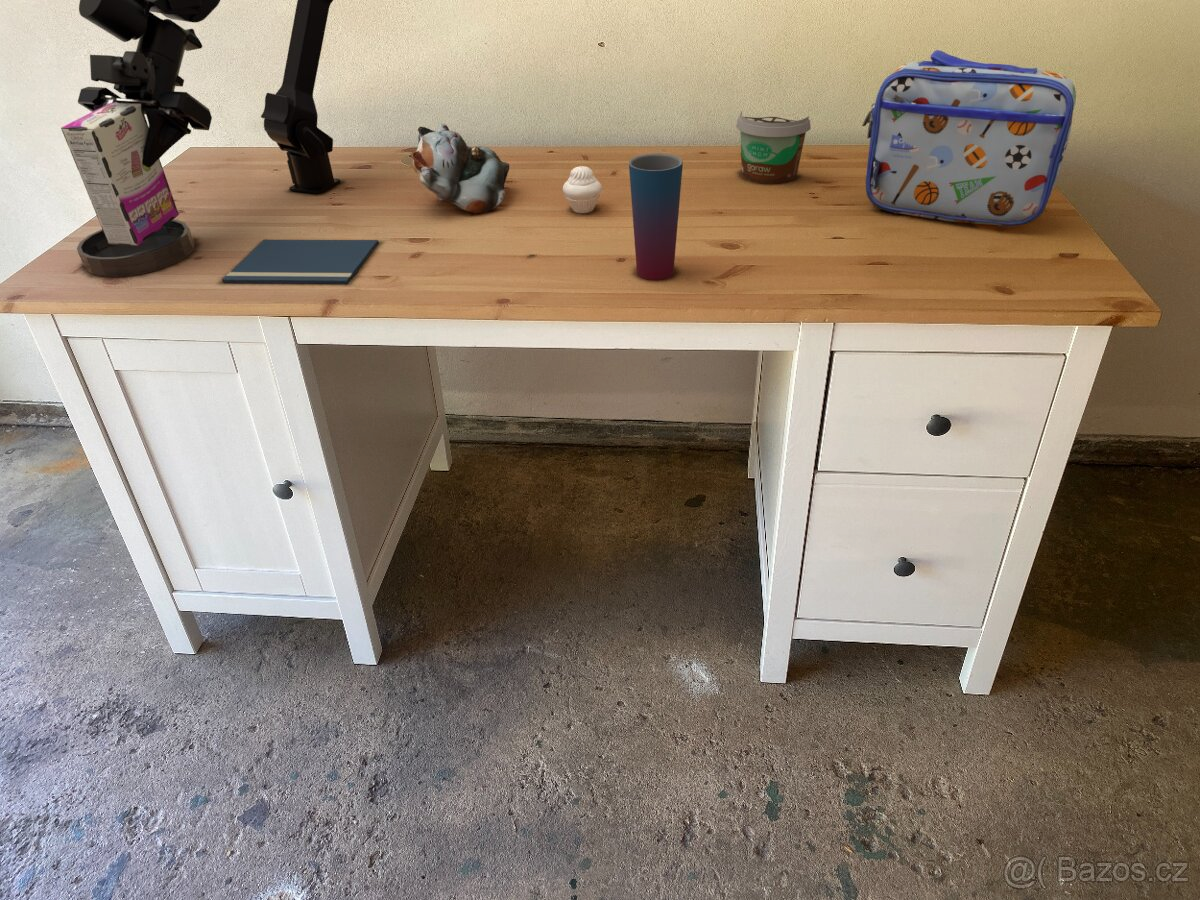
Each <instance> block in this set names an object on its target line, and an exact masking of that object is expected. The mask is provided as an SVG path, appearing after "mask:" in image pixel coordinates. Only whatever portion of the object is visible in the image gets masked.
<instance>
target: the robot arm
mask: <svg viewBox="0 0 1200 900" xmlns="http://www.w3.org/2000/svg"><path fill="white" fill-rule="evenodd" d="M220 2H221V0H79V4H78V12H79V13H78V14H80V16H81V17H82V18H84V19H85V20H87V21H89V23H92V24H94V25H95V26H96V27H98V28H100V29H101V30H103V31H105V32H106V33H108V34H110V36H113V37H114V38H116V39H118V40H119V41H121V42H123V43H127V42H130V41H132V40H133V41H137V40H138V43H137V46H136V49H135V51H134V50H133V51H132V50H131V51H130V50H128V51H127V50H126V51H124V53H123V56H119V55H117V56H116V55H107V54H89V66H90V67H89V68H90V80H91V81H93V82H99V81H100V82H104V83H108V84H112V85H113V90H115V91H116V92H117V93H120V94H123V95H124V98H123V97H121V96H120V95H117V94H116V93H115V92H114V91H112V90H111V89H109V88H107V87H102V86H101V87H100V86H86V87H83V88H80V91H79V96H78V99H77V104H79V105H80V106H82V107H84V109H86V110H89V112H93V111H95V110H97V109H99V108H101V107H103V106H105V105H107V104H109V103H114V102H119V103H137V104H141V106H142V109H143V112H144V115H145V117H146V120H147V124H148V127H149V129H148V133H147V138H146V143H145V148H144V153H143V165H145V166H146V167H151V166H152V165H153V164H154V163H155V162H156V161H157V160H158V159H160V158H162V156H163V155H165V154H166V153H167V152H168V151H169V150H170V148H172V147H173V146H174V145H175V144H177V143H178V142H179V141H180V140H181V139H183V138H184V137H185V136H186V135H191V133H192V130H191V129H190V128H192V129H194V130H197V131H200V130H201V131H210V127H211V123H212V120H213V116H212V114H211V111H210V108H208V107H207V105H205V104H204V103H202V102H201V101H200V100H198V99H197V98H195V97H193V96H192V95H191V94H189V93H188V91H175V90H176V87H183V86H184V83H185V79H184V78H182V77H181V76H180V75H179V74H180V70H181V67H182V63H183V60H184V55H185V51H186V52H189V51H194V50H201V49H202V48H203V44H202V42H201V40H200V39H199V37H198V36H197V35H196V32H195V29H194V28H187V29H185V28H184V27H182V26H181V25H179V24H177V23H176V22H175V21H181V22H187V23H200V22H203V21H204V20H205V19H207V18H208V16H209V15H210V14H211V13H212V12H213V11H214V10H216V8H217V7H218V6H219V4H220ZM333 2H334V0H296V7H295V12H294V16H293V17H294V18H293V22H292V23H293V24H292V28H291V34H290V39H289V43H288V44H289V45H288V50H287V51H288V52H287V55H286V61H285V67H284V71H283V72H284V73H283V78H282V82H281V86H280V87H279V89H278V90H277V92H276V93H271V92H266V94H265V97H264V108H263V111H262V113H261V115H260V118H261V119H263V129H264V131H265V133H266V134H267V136H268V137H269V139H271V141H273V142H275V143H276V145H277V146H278V148H279V149H280V151H282V152H286V157H287V160H286V162H287V166H288V171H289V174H290V178H291V182H292V184H293V185H291V186H289V187H288V189H289V191H291V192H301V193H308V194H309V193H310V194H322V193H324V192H325V191H327V190H328V189H330V188H332V187H334V186H337V184H340V182H341V178H336V177H334V174H333V168H332V165H331V161H330V156H329V153H331V152H333V151H334V150H333V149H334V138H333V137H332V136H330V135H329V134H327V133H326V132H324V131H323V130H322V129H320V128H319V127H318V119H319V118H318V116H319V115H318V110H317V106H316V104H315V100H314V89H315V86H316V80H317V75H318V69H319V64H320V58H321V55H322V48H323V44H324V37H325V33H326V32H325V31H326V29H327V28H326V27H327V21H328V16H329V12H330V8H331V4H332V3H333ZM154 13H156V14H161V15H163V16H164V17H165V19H163V18H161V17H158V16H157V15H156V14H154ZM173 20H174V21H173ZM183 88H184V87H183ZM189 125H190V128H189Z"/></svg>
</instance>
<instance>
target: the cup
mask: <svg viewBox="0 0 1200 900" xmlns="http://www.w3.org/2000/svg"><path fill="white" fill-rule="evenodd" d="M683 167H684V161H683V159H682V158H681V157H680V156H677V155H675V154H671V153H670V154H669V153H664V152H663V153H662V152H652V153H651V152H650V153H643V154H639V155H636V156H633V157H632V158H630V159H629V160H628V172H629V185H630V186H629V187H630V199H631V212H632V224H633V239H634V252H635V253H634V254H635V267H636V274H637V275H638V277H640V278H641V279H644V280H648V281H660V280H661V281H662V280H665V279H668V278H670V277H672V276H673V275H674V272H675V259H676V248H677V236H678V223H679V212H680V202H681V201H680V200H681V189H682V177H683Z"/></svg>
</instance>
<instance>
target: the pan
mask: <svg viewBox="0 0 1200 900" xmlns="http://www.w3.org/2000/svg"><path fill="white" fill-rule="evenodd" d="M190 229H191V228H190V226H189V225H188V224H187V223H186V222H184V221H182V220H179V219H176V218H175V219H173V220H172V221H171V222H169V223H168V224H167V225H165V226H164V227H163V228H161V229H160V230H159V231H157V232H156V233H155V234H153V235H152V236H151V237H149V238H148V239H147V240H145V241H144V242H143V243H141V244H140V245H138V246H133V245H114V244H109V243H108V242H107V239H106V237H105V234H104V232H103V229H102V228H101V229H99V230H97V231H95V232H93V233H91V234H89V235H87V236H86V237H84V238H83V239H82V240H80V242H79V243H78V245H77V246H76V251H77V253H78V256H79V258H80V260H81V262H82V264H83V267H84V269H85V271H86V272H88V273H89V274H91V275H94V276H96V277H97V276H98V277H103V278H124V277H125V278H126V277H134V276H139V275H144V274H149V273H153V272H156V271H159V270H163V269H165V268H168V267H170V266H173V265H175V264H177V263H179V262H181V261H183V260H185V259H186V258H187V257H188V256H190V254H192V252H194V250H195V241H194V238H193V235H192V233H191V230H190Z"/></svg>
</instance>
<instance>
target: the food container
mask: <svg viewBox="0 0 1200 900" xmlns="http://www.w3.org/2000/svg"><path fill="white" fill-rule="evenodd" d="M735 127H736V129H737V130H738V131H739V133H740V160H741V161H740V163H741V176H742V177H743V178H744V179H746V180H747V181H750V182H753V183H758V184H771V185H773V184H782V183H786V182H787V183H788V182H790V181H792V180H795V179H796V178H797V175H798V171H799V166H800V162H801V157H802V152H803V148H804V143H805V138H806V133H808V132H809V131H810V130H811V129H812V127H811V119H810V115H807V116H806V117H804V118H802V119H798V120H793V119H787V118H783V117H778V116H764V117H750V116H743V111H742V110H741V111H740V113H739V114H738V117H737V121H736V125H735Z"/></svg>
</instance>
